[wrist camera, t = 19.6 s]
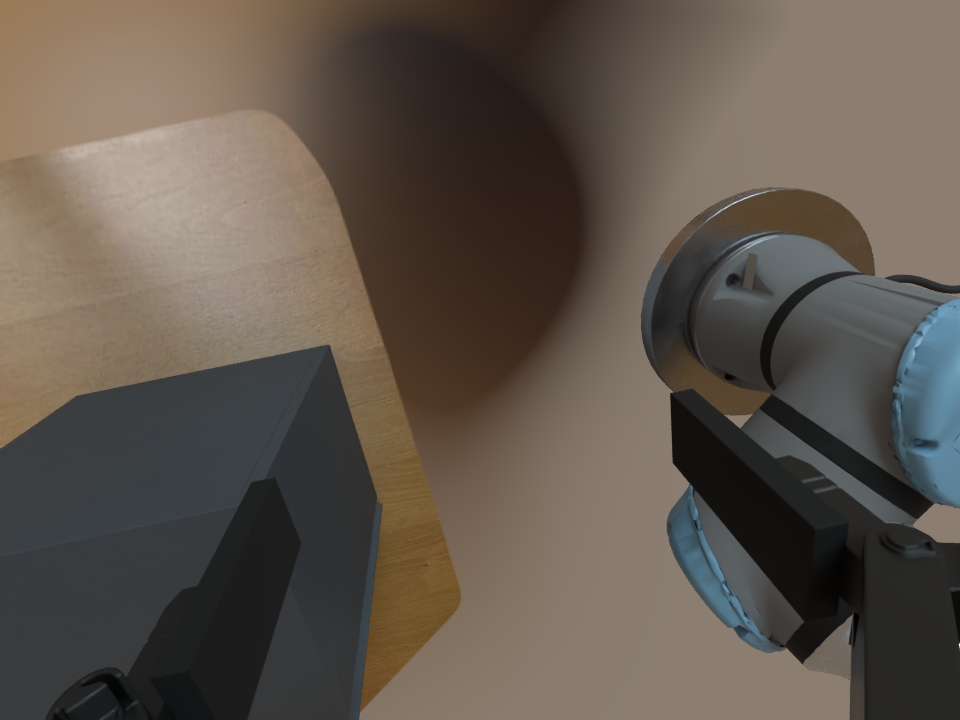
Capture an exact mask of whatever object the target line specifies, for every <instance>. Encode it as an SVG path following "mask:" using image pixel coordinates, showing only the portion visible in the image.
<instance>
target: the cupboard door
mask: <svg viewBox="0 0 960 720" xmlns="http://www.w3.org/2000/svg"><path fill="white" fill-rule="evenodd" d="M381 512H382V504H380V503H378V502H376V507H375V514H374V522H373V530H372V538H371V546H370V553H369V561H368V569H367V577H366V585H365V593H364V600H363V608H362V616H361V624H360V632H359V639H358V647H357V655H356V663H355V671H354V679H353V686H352V694H351V702H350V710H349V718H348V720H359V715H360V705H361V696H362V687H363V678H364V669H365V659H366V650H367V641H368V632H369V623H370V613H371V604H372V595H373V586H374V577H375V568H376V558H377V549H378V540H379V531H380V522H381Z"/></svg>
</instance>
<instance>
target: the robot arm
mask: <svg viewBox="0 0 960 720" xmlns="http://www.w3.org/2000/svg"><path fill="white" fill-rule="evenodd" d="M903 283H912V284H916V285H919V286H922V287H925V288H928V289H931V290H934V291H931V290H927V289H923V288H919V287H915V286H911V285H907V284H903ZM935 291H937V292H935ZM939 292H942V293H939ZM943 293H950V294H952V293H953V294H956V293H960V285H958V286H948V285H943V284H939V283H936V282H933V281H931V280H928V279H925V278H922V277H918V276H912V275H894V276H889V277H886V278H884V279H883V278H879V277H875V276H871V275H867V274H863V273H861V272H859V271H858V270H857V269H856V268H855V267H853V266H852V265H851V264H849V263H848V262H847V261H846V260H844V259H843V258H842V257H841V256H840V255H839V254H838V253H837V252H836V251H835V250H833V249H832V248H831V247H829V246H828V245H826V244H824V243H822V242H820V241H818V240H816V239H813V238H810V237H807V236H802V235H797V234H791V233H772V234H766V235H762V236H758V237H755V238H752V239H750V240H748V241H746V242H743V243H742V244H740V245H738V246H736V247H735V248H734V249H732V250H731V251H729V252H728V253H727V254H725V255H724V256H723V257H722V258H721V259H720V260H719V261H718V262H717V263H716V264H715V265H714V266H713V267H712V268H711V269H710V271H709V272H708V273H707V275H706V276H705V278H704V279H703V281H702V282H701V284H700V286H699V288H698V290H697V292H696V294H695V297H694V299H693V303H692V306H691V310H690V316H689V336H690V342H691V345H692V348H693V351H694V353H695V355H696V357H697V358H698V360H699V361H700V362H701V364H702V365H703V366H704V367H705V368H706V369H707V370H708V371H710V372H711V373H712V374H714V375H715V376H716V377H718V378H719V379H721V380H722V381H724V382H726V383H728V384H731V385H733V386H736V387H739V388H742V389H747V390H752V391H757V392H763V393H768V394H771V395H770V396H769V397H768V399H767V400H766V401H765V402H764V403H763V404H762V405H761V407H759V408H758V409H757V410H756V411H755V413H754V414H753V415H752V416H751V417H750V418H749V420H748V421H747V422H746V423H745V424H744V425H743V426H742V427H741V428H738V427H737V426H736V425H735V424H734V423H733V422H731V421H730V420H729V419H728V418H727V417H726V416H724V415H723V414H722V413H721V412H720V411H719V410H717V409H716V408H715V407H714V406H713V405H711V404H710V403H709V402H708V401H707V400H706V399H704V398H703V397H702V396H701V395H700V394H699V393H697V392H696V391H695V390H694V389H688V390H683V391H679V392H674V393H670V400H671V426H672V427H671V428H672V457H673V464H674V465H675V466H676V467H677V469H678V470H679V471H680V472H681V473H682V474H683V476H684V477H685V478H686V479H687V481H688V482H689V483H690V484H689V487H688V489H687V490H686V491H685V493H684V494H683V495H682V497H681V498H680V499H679V500H678V502H677V503H676V504H675V506H674V507H673V508H672V509H671V511H670V513H669V516H668V519H667V533H668V537H669V542H670V546H671V549H672V551H673V554H674V556H675V558H676V560H677V562H678V564H679V566H680V568H681V569H682V571H683V573H684V574H685V576H686V578H687V579H688V581H689V582H690V584H691V585H692V586H693V588H694V589H695V591H696V592H697V593H698V595H699V596H700V597H701V598H702V600H703V601H704V602H705V604H706V605H707V606H708V607H709V608H710V609H711V611H712V612H713V613H714V614H715V615H716V616H717V617H718V618H719V619H720V620H721V621H722V622H723V623H724V624H725V625H726V626H727V627H729V628H733V629H734V630H735V632H736V633H737V634H738V636H739V637H740V638H741V639H742V640H743V641H745V642H746V643H747V644H749V645H750V646H752V647H754V648H755V649H758V650H761V651H763V652H766V653H772V652H775V651H783V650H785V649H786V648H787V649H788V650H789V651H790V652H791V653H792V654H793V655H794V656H795V657H796V658H797V659H798V660H799V661H800V662H801V663H802V664H803V665H804V666H805V667H806V668H807V669H808V670H813V671H818V672H824V673H829V674H834V675H840V676H842V677H844V678H846V679H848V680H851V684H850V720H960V543H939V542H936V541H935V540H934V539H933V538H932V537H930V536H929V535H927V534H925V533H923V532H921V531H919V530H918V529H915V528H914V527H913V524H914V523H915V521H916V520H917V519H919V517H920V516H922V515H923V514H924V513H925V512H926V511H927V510H928V509H929V508H930V507H931V506H932V505H933V504H935V503H938V504H940V505H947V506H952V507H954V508H960V298H959V297H955V296H951V295H946V294H943ZM300 547H301V541H300V538H299V536H298V533H297V531H296V528H295V526H294V523H293V521H292V518H291V516H290V513H289V511H288V508H287V506H286V503H285V501H284V498H283V496H282V493H281V491H280V488H279V486H278V483H277V481H276V478H275V477H273V478H269V479H264V480H259V481H254V482H251V484H250V486H249V488H248V489H247V491H246V493H245V495H244V497H243V499H242V501H241V503H240V505H239V507H238V509H237V511H236V513H235V514H234V516H233V518H232V520H231V522H230V524H229V526H228V528H227V530H226V532H225V534H224V536H223V538H222V539H221V541H220V543H219V545H218V547H217V549H216V551H215V553H214V555H213V557H212V559H211V561H210V563H209V564H208V566H207V568H206V570H205V572H204V574H203V576H202V578H201V580H200V582H199V584H198V586H194V587H189V588H185V589H182V590H181V591H180V592H179V594H178V595H177V596H176V597H175V598H174V599H173V600H172V601H171V602H170V603H169V604H168V605H167V606H166V608H165V609H164V611H163V613H162V615H161V616H160V618H159V620H158V622H157V624H156V628H154V629H153V631H152V632H151V634H150V636H149V638H148V639H147V640H148V642H147V643H145V645H144V647H143V648H142V650H141V652H140V654H139V655H138V657H137V659H136V661H135V662H134V664H133V666H132V668H131V670H130V671H129V673H128V675H127V677H125V675H124V674H123V672H121V671H120V670H119V669H118V668H113V667H106V668H103V669H100V670H96V671H94V672H92V673H90V674H88V675H86V676H85V677H83V678H81V679H79V680H78V681H77V682H75V683H74V684H73V685H72V686H70V687H69V688H68V689H67V690H65V691H64V692H63V694H62V695H61V696H60V697H59V698H58V699H57V700H56V701H55V702H54V704H53V705H52V707H51V709H50V711H49V712H48V714H47V716H46V720H247V719H248V716H249V713H250V709H251V706H252V703H253V700H254V696H255V693H256V690H257V687H258V683H259V680H260V677H261V674H262V670H263V667H264V664H265V661H266V657H267V654H268V651H269V648H270V644H271V641H272V638H273V635H274V631H275V628H276V625H277V622H278V618H279V615H280V612H281V609H282V605H283V602H284V599H285V596H286V592H287V589H288V586H289V583H290V579H291V576H292V573H293V569H294V566H295V563H296V560H297V556H298V553H299V550H300Z"/></svg>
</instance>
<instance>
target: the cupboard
mask: <svg viewBox="0 0 960 720" xmlns="http://www.w3.org/2000/svg"><path fill="white" fill-rule="evenodd" d="M273 477H275V478H276V481H277V483H278V486H279V488H280V491H281V493H282V496H283V498H284V501H285V503H286V506H287V508H288V511H289V513H290V516H291V518H292V521H293V523H294V526H295V528H296V531H297V533H298V536H299V538H300V541H301V547H300V550H299V553H298V556H297V560H296V563H295V566H294V569H293V573H292V576H291V579H290V583H289V586H288V589H287V592H286V596H285V599H284V602H283V605H282V609H281V612H280V615H279V618H278V622H277V625H276V628H275V631H274V635H273V638H272V641H271V644H270V648H269V651H268V654H267V657H266V661H265V664H264V667H263V670H262V674H261V677H260V680H259V683H258V687H257V690H256V693H255V696H254V700H253V703H252V706H251V709H250V713H249V716H248V719H247V720H348V718H349V710H350V702H351V694H352V686H353V679H354V671H355V663H356V655H357V647H358V639H359V632H360V624H361V616H362V608H363V600H364V593H365V585H366V577H367V569H368V561H369V553H370V546H371V538H372V530H373V522H374V514H375V507H376V499H377V495H376V492H375V489H374V486H373V482H372V479H371V476H370V473H369V470H368V466H367V463H366V460H365V457H364V454H363V451H362V447H361V444H360V441H359V438H358V435H357V431H356V428H355V425H354V422H353V419H352V415H351V412H350V409H349V406H348V403H347V399H346V396H345V393H344V390H343V387H342V383H341V380H340V377H339V374H338V371H337V367H336V364H335V361H334V358H333V355H332V351H331V348H330V345H325V346H320V347H315V348H310V349H305V350H300V351H295V352H291V353H286V354H281V355H276V356H271V357H266V358H261V359H256V360H251V361H246V362H242V363H237V364H232V365H227V366H222V367H217V368H212V369H207V370H202V371H197V372H192V373H188V374H183V375H178V376H173V377H168V378H163V379H158V380H153V381H148V382H143V383H138V384H134V385H129V386H124V387H119V388H114V389H109V390H104V391H99V392H94V393H89V394H84V395H80V396H76V397H74V398H73V399H72V400H70V401H69V402H67V403H66V404H64V405H63V406H62V407H60V408H59V409H57V410H56V411H54V412H53V413H52V414H50V415H49V416H47V417H46V418H44V419H43V420H41V421H40V422H39V423H37V424H36V425H34V426H33V427H31V428H30V429H29V430H27V431H26V432H24V433H23V434H21V435H20V436H18V437H17V438H16V439H14V440H13V441H11V442H10V443H8V444H7V445H6V446H4V447H3V448H1V449H0V720H46V716H47V714H48V712H49V711H50V709H51V707H52V705H53V704H54V702H55V701H56V700H57V699H58V698H59V697H60V696H61V695H62V694H63V692H64V691H65V690H67V689H68V688H69V687H70V686H72V685H73V684H74V683H75V682H77V681H78V680H79V679H81V678H83V677H85V676H86V675H88V674H90V673H92V672H94V671H96V670H100V669H103V668H106V667H113V668H118V669H119V670H120V671H121V672H123V674H124V675H125V677H127V675H128V673H129V671H130V670H131V668H132V666H133V664H134V662H135V661H136V659H137V657H138V655H139V654H140V652H141V650H142V648H143V647H144V645H145V643H147V642H148V640H147V639H148V638H149V636H150V634H151V632H152V631H153V629H154V628H156V624H157V622H158V620H159V618H160V616H161V615H162V613H163V611H164V609H165V608H166V606H167V605H168V604H169V603H170V602H171V601H172V600H173V599H174V598H175V597H176V596H177V595H178V594H179V592H180V591H181V590H182V589H185V588H189V587H194V586H198V584H199V582H200V580H201V578H202V576H203V574H204V572H205V570H206V568H207V566H208V564H209V563H210V561H211V559H212V557H213V555H214V553H215V551H216V549H217V547H218V545H219V543H220V541H221V539H222V538H223V536H224V534H225V532H226V530H227V528H228V526H229V524H230V522H231V520H232V518H233V516H234V514H235V513H236V511H237V509H238V507H239V505H240V503H241V501H242V499H243V497H244V495H245V493H246V491H247V489H248V488H249V486H250V484H251V482H254V481H259V480H264V479H269V478H273Z"/></svg>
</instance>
